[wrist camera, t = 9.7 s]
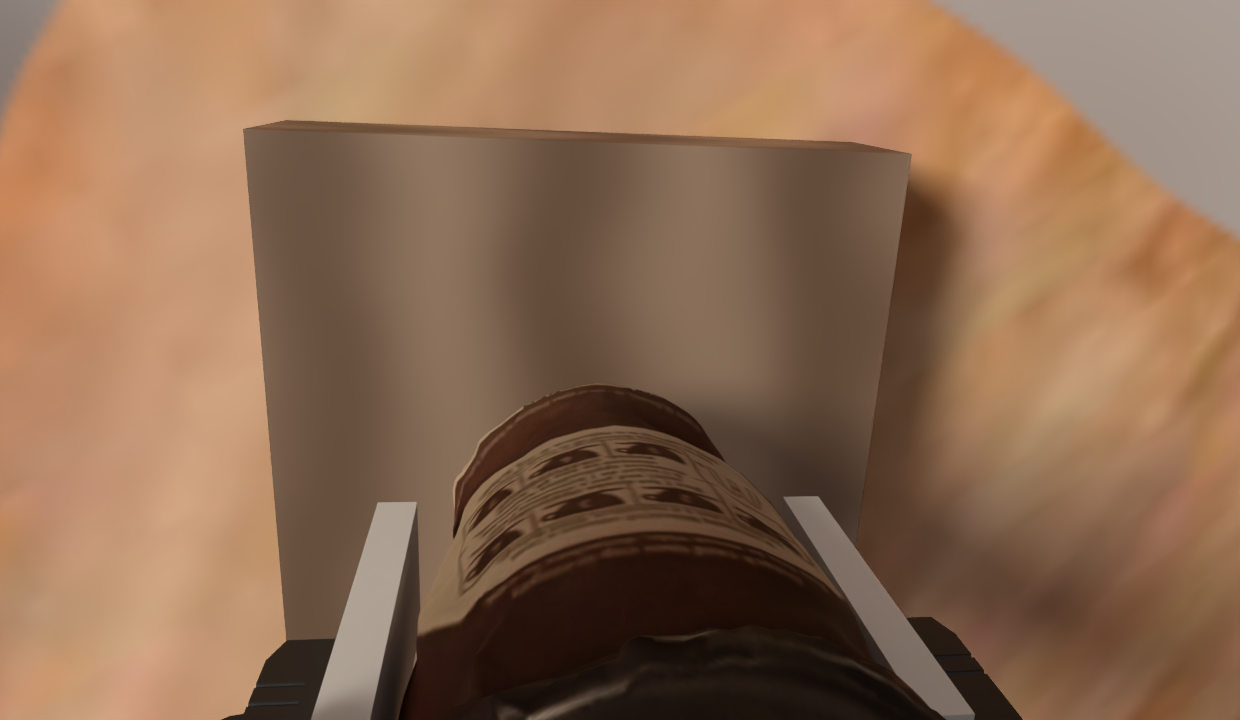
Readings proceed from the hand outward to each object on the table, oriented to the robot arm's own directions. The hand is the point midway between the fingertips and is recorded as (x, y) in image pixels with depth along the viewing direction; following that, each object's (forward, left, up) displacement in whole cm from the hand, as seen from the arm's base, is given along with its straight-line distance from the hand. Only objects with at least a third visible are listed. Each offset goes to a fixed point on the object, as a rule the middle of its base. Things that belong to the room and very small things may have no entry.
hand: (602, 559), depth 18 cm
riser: (0, 0, -10) cm, 10 cm away
